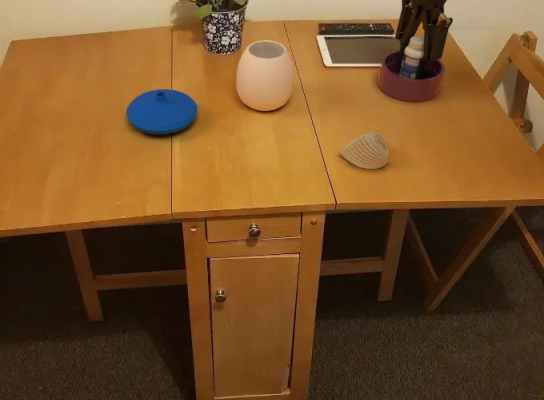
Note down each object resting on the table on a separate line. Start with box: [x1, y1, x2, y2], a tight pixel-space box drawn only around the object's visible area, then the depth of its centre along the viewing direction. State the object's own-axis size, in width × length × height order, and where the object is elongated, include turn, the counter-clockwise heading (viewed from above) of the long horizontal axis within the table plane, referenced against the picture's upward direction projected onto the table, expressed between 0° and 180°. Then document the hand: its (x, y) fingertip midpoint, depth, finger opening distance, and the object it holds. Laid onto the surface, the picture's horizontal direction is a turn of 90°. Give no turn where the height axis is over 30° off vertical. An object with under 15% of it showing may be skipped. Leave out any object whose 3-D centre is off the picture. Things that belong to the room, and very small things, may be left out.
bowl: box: [377, 49, 446, 103], centre depth 139 cm, size 14×14×6 cm
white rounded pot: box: [235, 39, 295, 112], centre depth 132 cm, size 13×13×14 cm
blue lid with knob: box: [125, 88, 198, 135], centre depth 128 cm, size 16×16×7 cm
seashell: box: [339, 131, 391, 170], centre depth 119 cm, size 8×8×8 cm
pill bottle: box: [399, 35, 424, 79], centre depth 136 cm, size 5×5×10 cm
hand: (410, 76), depth 139 cm, fingers closed on pill bottle, 5 cm apart
